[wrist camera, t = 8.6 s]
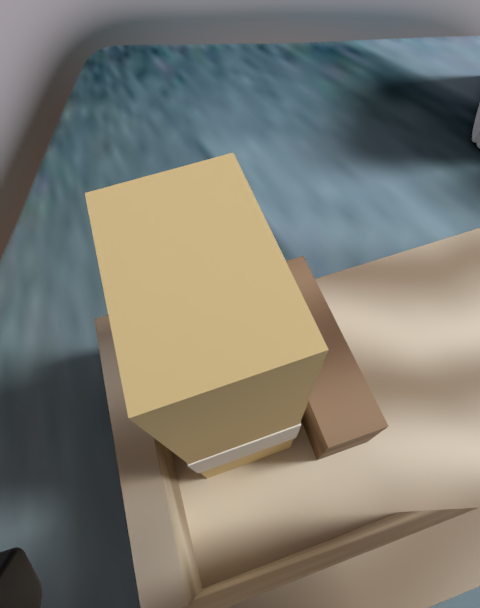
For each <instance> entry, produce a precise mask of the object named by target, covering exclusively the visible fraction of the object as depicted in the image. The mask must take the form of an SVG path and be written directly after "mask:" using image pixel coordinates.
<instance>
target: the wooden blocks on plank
mask: <svg viewBox="0 0 480 608" xmlns="http://www.w3.org/2000/svg"><path fill="white" fill-rule="evenodd" d="M286 263H287V265H288V267H289V269H290V271H291V273H292V275H293V277H294V279H295V281H296V283H297V285H298V287H299V289H300V291H301V293H302V296H303V298H304V300H305V302H306V304H307V306H308V308H309V310H310V312H311V314H312V316H313V318H314V320H315V322H316V324H317V327H318V329H319V331H320V333H321V335H322V337H323V339H324V341H325V343H326V345H327V347H328V349H329V351H328V353H327V356H326V358H325V361H324V363H323V366H322V368H321V371H320V373H319V376H318V379H317V381H316V384H315V386H314V389H313V391H312V394H311V396H310V399H309V401H308V404H307V407H306V409H305V412H304V414H303V417H302V419H301V427H300V430H299V432H298V435H297V437H296V438H294V440H293V442H292V445H291V447H290V448H289V449H286V450H283V451H281V452H278V453H275V454H273V455H270V456H267V457H265V458H262V459H259V460H256V461H254V462H251V463H248V464H246V465H243V466H240V467H237V468H235V469H232V470H229V471H227V472H224V473H221V474H218V475H216V476H213V477H210V478H206V477H205V476H204V475H202V474H201V473H196V472H195V471H194V470H192V469H191V468H189V467H188V465H187V463H186V462H185V461H184V460H183V459H181V458H180V457H179V456H177V455H176V454H175V453H173V452H172V451H171V450H169V449H168V448H167V447H165V446H164V445H163V444H161V443H160V442H159V441H157V440H156V439H155V438H154V437H152V436H151V435H150V434H148V433H147V432H146V431H144V430H143V429H142V428H140V427H139V426H138V425H136V424H135V423H134V422H132V421H131V420H130V419H129V418H128V414H127V408H126V403H125V398H124V393H123V388H122V383H121V377H120V372H119V367H118V362H117V357H116V352H115V346H114V341H113V336H112V331H111V326H110V321H109V315H106V316H103V317H99V318H96V319H94V320H95V326H96V332H97V339H98V345H99V351H100V357H101V364H102V370H103V376H104V382H105V389H106V395H107V401H108V407H109V414H110V420H111V426H112V432H113V439H114V445H115V451H116V457H117V464H118V470H119V476H120V482H121V489H122V495H123V501H124V507H125V514H126V520H127V526H128V532H129V539H130V545H131V551H132V557H133V564H134V570H135V576H136V582H137V589H138V595H139V601H140V607H141V608H429V607H431V606H433V605H436V604H438V603H441V602H443V601H445V600H448V599H450V598H452V597H455V596H457V595H460V594H462V593H464V592H467V591H469V590H472V589H474V588H476V587H479V586H480V228H478V229H475V230H472V231H469V232H465V233H462V234H459V235H456V236H452V237H449V238H446V239H443V240H440V241H436V242H433V243H430V244H427V245H423V246H420V247H417V248H414V249H410V250H407V251H404V252H401V253H397V254H394V255H391V256H388V257H385V258H381V259H378V260H375V261H372V262H368V263H365V264H362V265H359V266H355V267H352V268H349V269H346V270H342V271H339V272H336V273H333V274H330V275H326V276H323V277H320V278H317V279H315V278H314V276H313V274H312V272H311V270H310V268H309V266H308V264H307V262H306V260H305V258H304V256H302V257H298V258H295V259H292V260H289V261H286Z"/></svg>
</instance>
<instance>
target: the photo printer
mask: <svg viewBox="0 0 480 608" xmlns="http://www.w3.org/2000/svg"><path fill="white" fill-rule="evenodd" d="M472 141H473V142H474V143H477V147H478V148H479V149H480V103H479V107H478V110H477V114H476V118H475V122H474V126H473V131H472Z"/></svg>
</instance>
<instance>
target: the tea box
mask: <svg viewBox="0 0 480 608" xmlns="http://www.w3.org/2000/svg"><path fill="white" fill-rule="evenodd" d="M85 196H86V202H87V207H88V212H89V217H90V222H91V227H92V233H93V238H94V243H95V248H96V253H97V258H98V264H99V269H100V274H101V279H102V284H103V289H104V295H105V300H106V305H107V310H108V315H109V321H110V326H111V331H112V336H113V341H114V346H115V352H116V357H117V362H118V367H119V372H120V377H121V383H122V388H123V393H124V398H125V403H126V408H127V414H128V418H129V419H130V420H131V421H132V422H134V423H135V424H136V425H138V426H139V427H140V428H142V429H143V430H144V431H146V432H147V433H148V434H150V435H151V436H152V437H154V438H155V439H156V440H157V441H159V442H160V443H161V444H163V445H164V446H165V447H167V448H168V449H169V450H171V451H172V452H173V453H175V454H176V455H177V456H179V457H180V458H181V459H183V460H184V461H185V462H186V463H187V465H188V467H189V468H191V469H192V470H194V471H195V472H196V473H201V474H202V475H204V476H205V477H206V478H210V477H213V476H216V475H218V474H221V473H224V472H227V471H229V470H232V469H235V468H237V467H240V466H243V465H246V464H248V463H251V462H254V461H256V460H259V459H262V458H265V457H267V456H270V455H273V454H275V453H278V452H281V451H283V450H286V449H289V448H290V447H291V445H292V442H293V440H294V438H296V437H297V435H298V432H299V430H300V427H301V419H302V417H303V414H304V412H305V409H306V407H307V404H308V401H309V399H310V396H311V394H312V391H313V389H314V386H315V384H316V381H317V379H318V376H319V373H320V371H321V368H322V366H323V363H324V361H325V358H326V356H327V353H328V351H329V349H328V347H327V345H326V343H325V341H324V339H323V337H322V335H321V333H320V331H319V329H318V327H317V324H316V322H315V320H314V318H313V316H312V314H311V312H310V310H309V308H308V306H307V304H306V302H305V300H304V298H303V296H302V293H301V291H300V289H299V287H298V285H297V283H296V281H295V279H294V277H293V275H292V273H291V271H290V269H289V267H288V265H287V263H286V260H285V258H284V256H283V254H282V252H281V250H280V248H279V246H278V244H277V242H276V240H275V238H274V236H273V234H272V232H271V229H270V227H269V225H268V223H267V221H266V219H265V217H264V215H263V213H262V211H261V209H260V207H259V205H258V203H257V201H256V199H255V196H254V194H253V192H252V190H251V188H250V186H249V184H248V182H247V180H246V178H245V176H244V174H243V172H242V170H241V168H240V165H239V163H238V161H237V159H236V157H235V155H234V153H230V154H226V155H223V156H219V157H215V158H212V159H208V160H204V161H201V162H197V163H193V164H190V165H186V166H182V167H179V168H175V169H171V170H168V171H164V172H160V173H157V174H153V175H149V176H146V177H142V178H138V179H135V180H131V181H127V182H124V183H120V184H116V185H113V186H109V187H105V188H102V189H98V190H94V191H91V192H87V193H85Z"/></svg>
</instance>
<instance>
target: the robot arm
mask: <svg viewBox="0 0 480 608" xmlns="http://www.w3.org/2000/svg"><path fill="white" fill-rule="evenodd" d="M41 598H42V589H41V584H40V581H39V579H38V577H37V575H36V573H35V571H34V569H33V567H32V565H31V563H30V561H29V559H28V558H27V556H26V554H25V552H24V551H23V550H22V549H21V548H12V549H9V550H6V551H3V552H0V608H40V605H41Z"/></svg>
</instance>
